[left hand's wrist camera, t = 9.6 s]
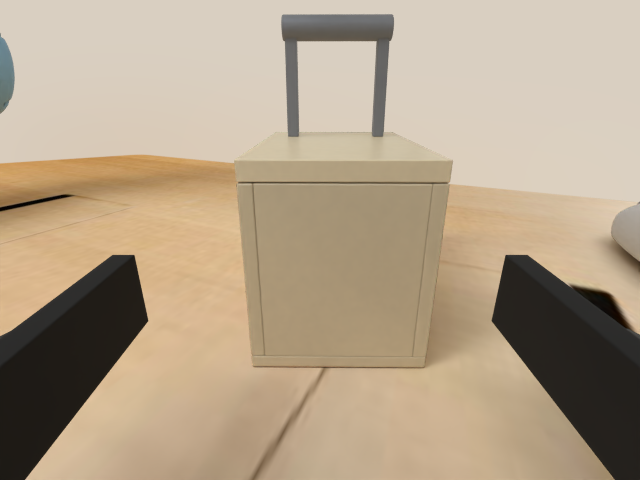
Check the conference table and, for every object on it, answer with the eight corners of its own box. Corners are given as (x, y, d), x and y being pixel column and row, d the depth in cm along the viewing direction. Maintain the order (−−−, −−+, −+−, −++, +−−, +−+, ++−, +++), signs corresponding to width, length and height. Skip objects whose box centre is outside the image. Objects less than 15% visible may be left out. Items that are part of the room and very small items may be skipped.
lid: (275, 145, 27) (270, 25, 24) (392, 145, 27) (401, 25, 24) (235, 182, 15) (215, -54, 12) (450, 182, 15) (482, -55, 12)
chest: (280, 262, 30) (274, 146, 27) (385, 262, 30) (393, 146, 27) (252, 367, 18) (235, 183, 15) (424, 368, 18) (450, 184, 15)
